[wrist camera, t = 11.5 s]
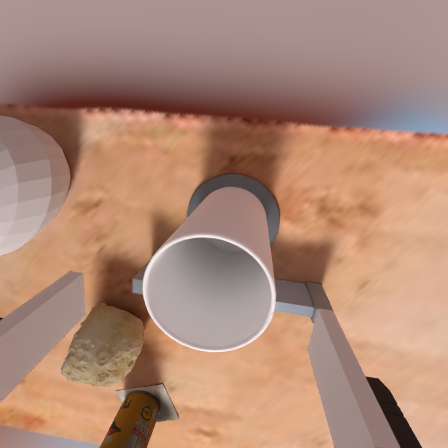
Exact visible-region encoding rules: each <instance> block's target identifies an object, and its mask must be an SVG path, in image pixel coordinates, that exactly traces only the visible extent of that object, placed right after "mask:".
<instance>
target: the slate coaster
mask: <svg viewBox="0 0 448 448" xmlns="http://www.w3.org/2000/svg"><path fill="white" fill-rule="evenodd" d="M224 187H238V188H242V189H245V190H247V191H249V192H251V193H252V194H253V195H255V196H256V197H257V198H258V199H259V201H260V202H261V204H262V205H263V207H264V210H265V213H266V218H267V226H268V233H269V241H270V246H271V245H272V243H273V242H274V240H275V238H276V235H277V233H278V229H279V211H278V207H277V204H276V202H275V200H274V198H273V196H272V195H271V193H270V192H269V191H268V189H267V188H266V187H265V186H263V185H262V184H261V183H260V182H258V181H257V180H255V179H253V178H251V177H248V176H245V175H240V174H225V175H220V176H217V177H214V178H212V179H210V180H209V181H207V182H206V183H204V184H203V185H202V186H201V187H200V188H199V189H198V190H197V191H196V192H195V194H194V195H193V197H192V199H191V201H190V203H189V207H188V212H187V218H188V217H189V216H190V214H191V213H192V212H193V211H194V210H195V209H196V208H197V207H198V206H199V205H200V204H201V202H202V201H203V200H204V199H205V198H206V197H207V196H208V195H209V194H211V193H212V192H214V191H215V190H218V189H220V188H224Z"/></svg>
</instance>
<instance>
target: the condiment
mask: <svg viewBox="0 0 448 448" xmlns="http://www.w3.org/2000/svg"><path fill="white" fill-rule="evenodd" d="M116 392H117V394H118V396H119V397H120V399H121V401H122V402H123V404H122V406H121V407H120V409H119V411H118V413H117V415H116V417H115V419H114V421H113V423H112V425H111V427H110V428H109V431H108V433H107V435H106V437H105V439H104V441H103V442H102V444H101V446H100V448H147V445H148V443H149V440H150V437H151V434H152V432H153V429H154V426H155V423H156V422H157V421H158V422H161V421H166V420H178V419H179V418H178V416H177V413H176V411H175V409H174V406H173V404H172V402H171V400H170V397H169V396H168V394H167V391H166V389H165V388H164V386H163V384H160V385H153V386H147V387H139V388H132V389H125V390H119V391H116ZM154 394H155V395H154ZM156 395H158V396H156Z"/></svg>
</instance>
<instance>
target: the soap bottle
mask: <svg viewBox="0 0 448 448" xmlns="http://www.w3.org/2000/svg"><path fill="white" fill-rule="evenodd" d="M70 179H71V176H70V169H69V166H68V163H67V161H66V158H65V156H64V153H63V151H62V148H61V147H60V146H59V145H58V144H57V142H56V141H55V140H54V139H53V138H52V137H51V136H50V135H49V134H47V133H45V132H44V131H42V130H41V129H39V128H38V127H36V126H33V125H30V124H28V123H25V122H23V121H20V120H18V119H15V118H13V117H7V116H0V256H1V255H4V254H7V253H9V252H12V251H15V250H17V249H18V248H20V247H21V246H22V245H24V244H25V243H27V242H28V241H29V240H31V239H32V238H33V237H35V236H36V235H37V234H39V233H40V232H41V231H43V230H44V229H45V228H47V227H48V226H49V224H50V223H51V222H52V221H53V220H54V219H55V217H56V216H57V214H58V212H59V210H60V208H61V207H62V205H63V203H64V201H65V199H66V197H67V194H68V190H69V186H70Z"/></svg>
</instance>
